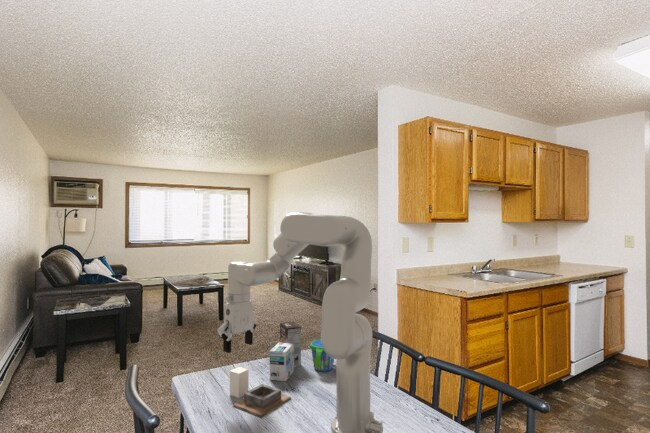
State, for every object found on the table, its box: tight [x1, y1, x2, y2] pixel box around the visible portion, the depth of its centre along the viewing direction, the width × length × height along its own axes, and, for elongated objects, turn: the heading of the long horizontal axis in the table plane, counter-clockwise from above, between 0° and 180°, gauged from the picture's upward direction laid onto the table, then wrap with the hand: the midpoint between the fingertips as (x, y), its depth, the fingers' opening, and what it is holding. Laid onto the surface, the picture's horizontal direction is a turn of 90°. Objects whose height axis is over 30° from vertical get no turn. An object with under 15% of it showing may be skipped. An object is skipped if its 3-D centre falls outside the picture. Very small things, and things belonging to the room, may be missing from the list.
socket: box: [233, 383, 292, 418], centre depth 117 cm, size 12×14×3 cm
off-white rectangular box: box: [229, 366, 249, 399], centre depth 124 cm, size 4×4×8 cm
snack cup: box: [309, 338, 335, 373], centre depth 145 cm, size 16×10×10 cm
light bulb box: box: [269, 342, 295, 382], centre depth 139 cm, size 11×7×11 cm, turn 168°
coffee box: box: [279, 321, 302, 368], centre depth 151 cm, size 9×6×16 cm
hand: (238, 347), depth 124 cm, fingers open, 9 cm apart
